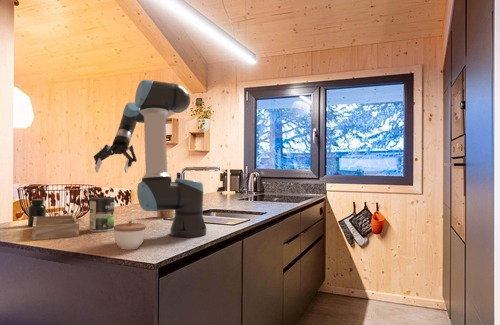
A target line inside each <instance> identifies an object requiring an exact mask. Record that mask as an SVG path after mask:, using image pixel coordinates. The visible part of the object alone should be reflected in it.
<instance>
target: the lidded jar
mask: <svg viewBox="0 0 500 325" xmlns="http://www.w3.org/2000/svg"><path fill="white" fill-rule="evenodd" d="M132 221H133V220H128V222H127V223H118V224H116V225H115V224H114V230H113V235H114V241H115V243H116V244H117V246H118V247H119V248H120V249H121V250H136V249H138V248H139V247H140V246H141V245H142V243H143V242H144V240H145V237H146V229H147V225H146V224H144V223H141V222H139V223H138V222H132Z"/></svg>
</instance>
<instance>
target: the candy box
mask: <svg viewBox="0 0 500 325" xmlns="http://www.w3.org/2000/svg"><path fill="white" fill-rule="evenodd" d="M174 215H175V210H165V211H156V218H174Z"/></svg>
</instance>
